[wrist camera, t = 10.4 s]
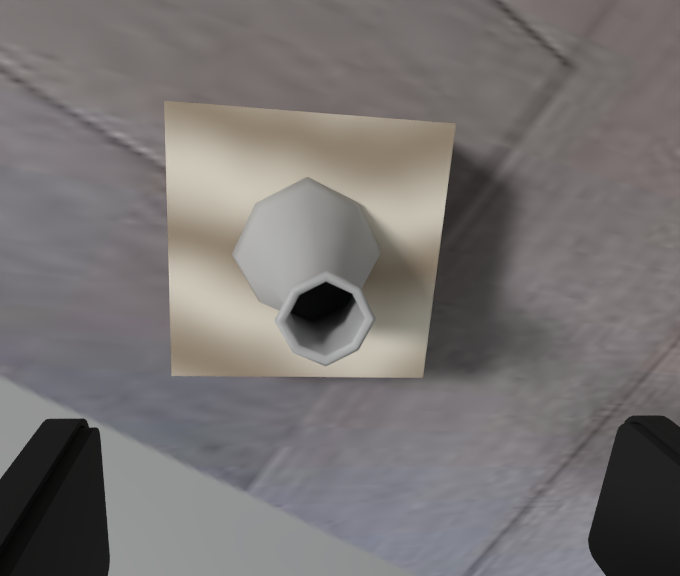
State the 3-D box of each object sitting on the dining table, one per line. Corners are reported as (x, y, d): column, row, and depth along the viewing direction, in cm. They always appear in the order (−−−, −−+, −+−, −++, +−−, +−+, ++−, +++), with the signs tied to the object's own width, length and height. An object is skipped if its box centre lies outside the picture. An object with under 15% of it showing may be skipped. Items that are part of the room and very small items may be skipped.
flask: (403, 250, 27) (473, 316, 18) (308, 342, 28) (325, 452, 19) (306, 149, 25) (326, 164, 16) (206, 253, 26) (168, 326, 17)
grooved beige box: (188, 106, 30) (164, 100, 24) (418, 124, 32) (455, 123, 26) (191, 327, 34) (171, 375, 28) (395, 331, 36) (422, 377, 30)
